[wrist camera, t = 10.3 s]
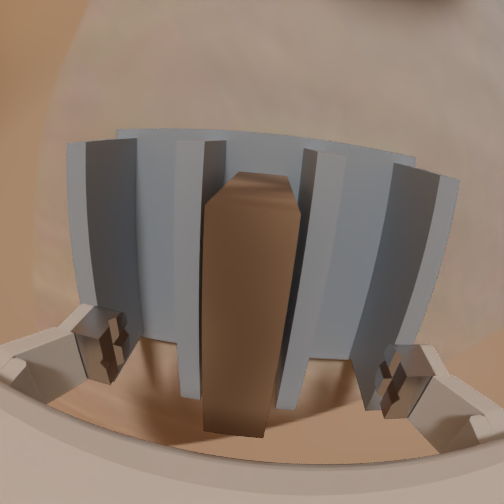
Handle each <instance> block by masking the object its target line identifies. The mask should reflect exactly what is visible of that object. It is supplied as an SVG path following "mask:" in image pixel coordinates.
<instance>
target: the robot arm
mask: <svg viewBox="0 0 504 504" xmlns="http://www.w3.org/2000/svg"><path fill="white" fill-rule="evenodd" d="M127 324H128V323H127V317H126V314H125V313H124V312H121V311H117V310H113V309H109V308H105V307H101V306H96V305H92V304H88V303H82V304H81V305H80V306H79V307H78V308H77V309H76V310H75V311H74V312H73V313H72V314H71V315H70V316H69V317H68V318H67V319H66V320H65V321H64V322H63V323H62V324H61V325H60V326H59V327H58V328H56V327H52V328H49V329H46V330H43V331H40V332H37V333H34V334H32V335H29V336H25V337H23V338H20V339H17V340H14V341H11V342H8V343H5V344H2V345H0V504H504V409H503V408H502V407H500V406H499V405H497V404H496V403H494V402H493V401H491V400H490V399H488V398H487V397H485V396H484V395H482V394H481V393H479V392H478V391H476V390H475V389H473V388H472V387H470V386H469V385H467V384H466V383H464V382H462V381H461V380H460V379H459V378H457V377H455V376H454V375H449V373H448V371H447V370H446V368H445V366H444V364H443V362H442V360H441V359H440V357H439V355H438V354H437V352H436V350H435V348H434V347H433V346H432V345H431V344H416V345H407V344H389V345H388V346H387V348H386V349H385V352H384V357H385V361H384V362H382V363H381V364H380V365H379V366H378V369H377V372H376V376H375V388H376V392H377V394H378V395H380V396H381V397H382V400H381V402H380V406H381V410H382V413H383V416H384V419H396V418H397V419H398V418H408V420H409V421H410V422H411V423H412V425H413V426H414V427H415V428H416V429H417V430H418V431H419V432H420V433H421V434H422V435H423V436H424V437H425V438H426V439H427V440H428V441H429V442H430V443H431V445H432V446H433V447H434V448H435V449H436V450H437V451H438V452H439V453H440V454H436V455H431V456H425V457H418V458H411V459H404V460H395V461H385V462H374V463H360V464H289V463H273V462H261V461H252V460H243V459H235V458H228V457H221V456H215V455H209V454H203V453H198V452H192V451H188V450H183V449H178V448H174V447H170V446H165V445H161V444H157V443H153V442H150V441H146V440H142V439H139V438H135V437H132V436H128V435H125V434H122V433H119V432H116V431H112V430H109V429H106V428H104V427H101V426H98V425H95V424H92V423H90V422H87V421H84V420H82V419H79V418H77V417H74V416H72V415H69V414H67V413H64V412H62V411H60V410H57V409H55V408H52V407H50V406H48V405H46V404H48V403H50V402H51V401H53V400H55V399H56V398H58V397H60V396H62V395H63V394H65V393H67V392H68V391H70V390H72V389H73V388H75V387H77V386H78V385H80V384H82V383H83V382H85V381H87V379H90V380H94V381H97V382H101V383H104V384H108V385H111V383H112V382H113V380H114V378H115V377H116V375H117V374H118V372H119V370H118V365H120V364H122V363H124V362H125V360H126V359H127V357H128V354H129V350H130V336H129V334H128V333H127V331H126V330H125V329H124V328H125V327H126V325H127Z"/></svg>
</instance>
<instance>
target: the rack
mask: <svg viewBox="0 0 504 504" xmlns="http://www.w3.org/2000/svg"><path fill="white" fill-rule="evenodd" d="M415 164H416V158H415V157H410V156H406V155H402V154H397V153H392V152H388V151H383V150H378V149H373V148H367V147H362V146H356V145H351V144H345V143H338V142H332V141H325V140H318V139H311V138H303V137H295V136H287V135H277V134H267V133H256V132H243V131H228V130H208V129H118V130H116V139H105V140H93V141H83V142H73V143H67V150H66V167H67V198H68V214H69V226H70V236H71V246H72V254H73V262H74V269H75V275H76V282H77V288H78V293H79V299H80V304H82V303H88V304H92V305H96V306H101V307H105V308H109V309H113V310H117V311H121V312H124V313H125V314H126V317H127V323H128V324H127V325H126V327H125V328H124V329H125V330H126V331H127V333H128V334H129V336H130V350H129V354H128V357H129V356H130V354H131V352H132V351H133V349H134V347H135V346H136V344H137V342H138V341H139V339H140V337H145V338H150V339H156V340H162V341H167V342H173V343H177V354H178V367H179V380H180V391H181V397H185V398H191V399H197V400H200V399H201V395H202V269H203V235H204V211H205V204H206V203H207V202H208V201H209V200H210V199H211V198H212V197H213V196H214V195H215V194H216V193H217V192H218V191H219V190H220V189H221V188H222V187H223V186H224V185H225V184H226V183H227V182H228V181H229V180H230V179H231V178H233V177H234V176H235V175H236V174H237V173H238V172H239V171H240V172H252V173H262V174H272V175H282V176H287V177H288V180H289V183H290V185H291V188H292V191H293V194H294V196H295V199H296V202H297V205H298V208H299V210H300V213H301V218H300V226H299V233H298V240H297V247H296V254H295V261H294V268H293V275H292V281H291V288H290V294H289V301H288V307H287V313H286V319H285V325H284V331H283V337H282V343H281V348H280V354H279V360H278V365H277V371H276V409H287V410H295V409H296V406H297V402H298V399H299V395H300V391H301V388H302V384H303V380H304V376H305V372H306V369H307V365H308V361H309V358H320V359H343V360H352V364H353V367H354V371H355V374H356V378H357V381H358V385H359V389H360V392H361V396H362V400H363V403H364V407H365V410H366V411H368V410H381V406H380V402H381V400H382V397H381V396H380V395H378V394H377V392H376V388H375V376H376V372H377V369H378V366H379V365H380V364H381V363H382V362H384V361H385V357H384V352H385V349H386V348H387V346H388V345H389V344H407V345H413V343H414V341H415V338H416V336H417V333H418V331H419V328H420V326H421V323H422V321H423V318H424V315H425V312H426V310H427V307H428V304H429V301H430V298H431V295H432V292H433V289H434V286H435V283H436V280H437V276H438V273H439V270H440V266H441V263H442V259H443V256H444V252H445V248H446V245H447V241H448V237H449V233H450V228H451V224H452V220H453V215H454V210H455V206H456V200H457V195H458V190H459V184H460V180H457V179H454V178H451V177H448V176H444V175H441V174H438V173H434V172H431V171H427V170H424V169H420V168H416V167H415ZM128 357H127V359H128ZM127 359H126V360H125V362H126V361H127ZM125 362H124V363H122V364H120V365H118V370H119V372H118V374H119V373H120V371H121V369H122V368H123V366H124V364H125ZM118 374H117V375H116V377H115V378H114V380H113V382H114V381H115V380H116V378H117V376H118Z"/></svg>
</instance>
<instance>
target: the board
mask: <svg viewBox="0 0 504 504" xmlns="http://www.w3.org/2000/svg"><path fill="white" fill-rule="evenodd" d="M300 218H301V213H300V210H299V208H298V205H297V202H296V199H295V196H294V194H293V191H292V188H291V185H290V183H289V180H288V177H287V176H282V175H272V174H262V173H252V172H240V171H239V172H238V173H237V174H236V175H235V176H234V177H233V178H231V179H230V180H229V181H228V182H227V183H226V184H225V185H224V186H223V187H222V188H221V189H220V190H219V191H218V192H217V193H216V194H215V195H214V196H213V197H212V198H211V199H210V200H209V201H208V202H207V203H206V204H205V211H204V235H203V269H202V392H203V424H204V431H207V432H213V433H220V434H228V435H236V436H245V437H256V438H263V437H264V432H265V427H266V422H267V417H268V412H269V407H270V402H271V397H272V392H273V387H274V381H275V376H276V371H277V365H278V360H279V354H280V348H281V343H282V337H283V331H284V325H285V319H286V313H287V307H288V301H289V294H290V288H291V281H292V275H293V268H294V261H295V254H296V247H297V240H298V233H299V226H300Z"/></svg>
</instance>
